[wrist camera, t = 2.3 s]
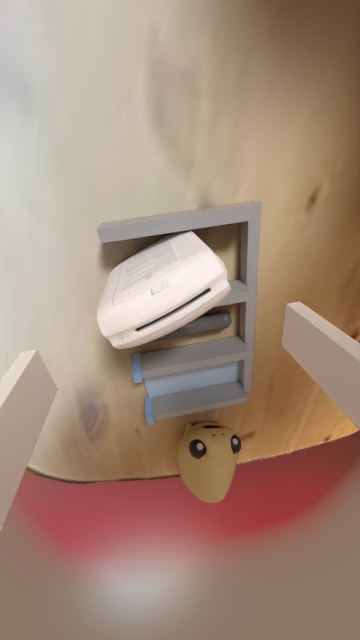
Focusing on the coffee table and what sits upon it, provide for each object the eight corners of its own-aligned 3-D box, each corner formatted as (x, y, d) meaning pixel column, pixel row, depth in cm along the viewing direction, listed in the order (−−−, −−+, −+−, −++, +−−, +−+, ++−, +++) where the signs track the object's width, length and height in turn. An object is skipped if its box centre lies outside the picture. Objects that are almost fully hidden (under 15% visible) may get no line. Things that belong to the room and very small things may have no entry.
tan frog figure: (235, 399, 39) (265, 465, 30) (222, 444, 44) (244, 511, 35) (176, 402, 37) (188, 473, 28) (171, 448, 43) (179, 520, 34)
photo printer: (127, 300, 27) (119, 373, 17) (104, 269, 25) (78, 330, 15) (206, 256, 26) (251, 304, 16) (189, 219, 24) (228, 246, 13)
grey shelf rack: (96, 224, 23) (89, 230, 20) (252, 201, 24) (270, 203, 21) (146, 404, 36) (147, 425, 33) (246, 384, 37) (256, 403, 34)
